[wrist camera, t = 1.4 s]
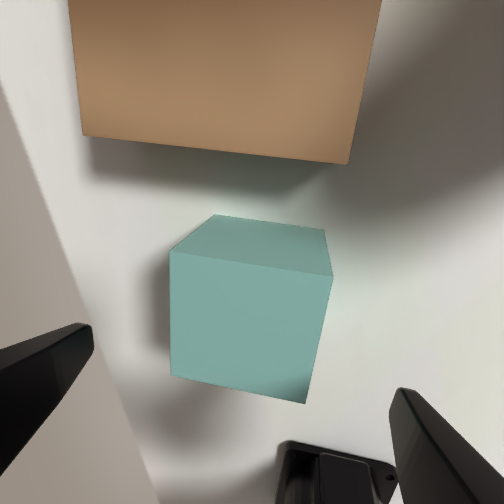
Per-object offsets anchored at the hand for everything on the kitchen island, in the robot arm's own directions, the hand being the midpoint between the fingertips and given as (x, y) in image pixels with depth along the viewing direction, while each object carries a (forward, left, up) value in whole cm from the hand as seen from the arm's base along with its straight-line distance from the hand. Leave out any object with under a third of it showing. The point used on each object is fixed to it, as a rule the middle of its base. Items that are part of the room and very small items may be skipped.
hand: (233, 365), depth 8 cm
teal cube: (0, 0, -6) cm, 6 cm away
